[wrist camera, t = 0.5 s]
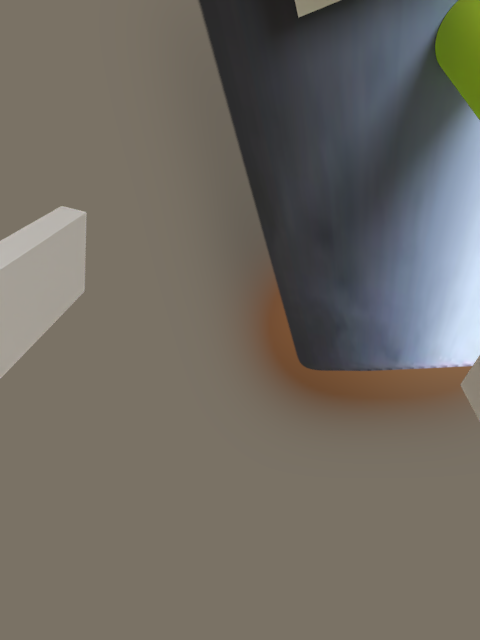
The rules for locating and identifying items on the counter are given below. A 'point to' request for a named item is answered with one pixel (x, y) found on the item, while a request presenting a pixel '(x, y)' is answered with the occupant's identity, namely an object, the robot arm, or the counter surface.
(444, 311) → the counter surface
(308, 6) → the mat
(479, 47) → the soap dispenser
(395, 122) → the counter surface
